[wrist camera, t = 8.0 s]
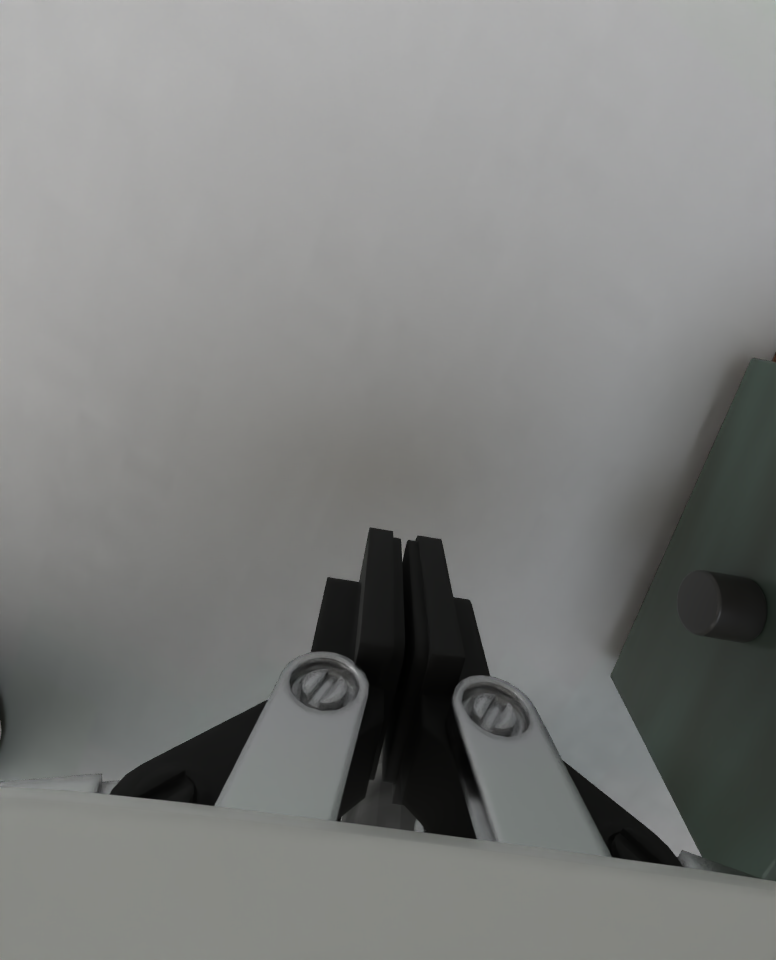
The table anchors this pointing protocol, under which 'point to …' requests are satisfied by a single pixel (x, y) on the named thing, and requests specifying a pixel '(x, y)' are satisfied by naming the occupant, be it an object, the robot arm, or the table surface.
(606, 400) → the table surface
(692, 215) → the table surface
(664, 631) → the drawer
